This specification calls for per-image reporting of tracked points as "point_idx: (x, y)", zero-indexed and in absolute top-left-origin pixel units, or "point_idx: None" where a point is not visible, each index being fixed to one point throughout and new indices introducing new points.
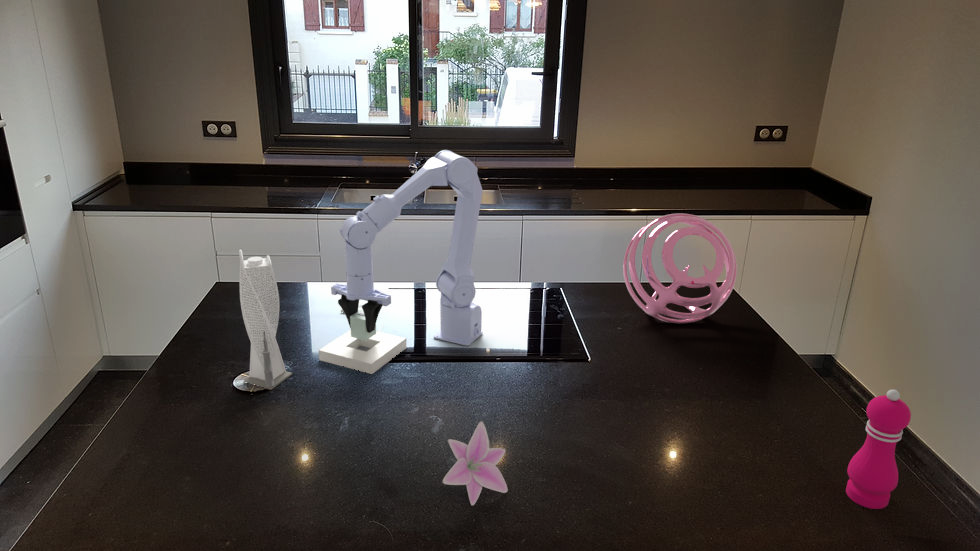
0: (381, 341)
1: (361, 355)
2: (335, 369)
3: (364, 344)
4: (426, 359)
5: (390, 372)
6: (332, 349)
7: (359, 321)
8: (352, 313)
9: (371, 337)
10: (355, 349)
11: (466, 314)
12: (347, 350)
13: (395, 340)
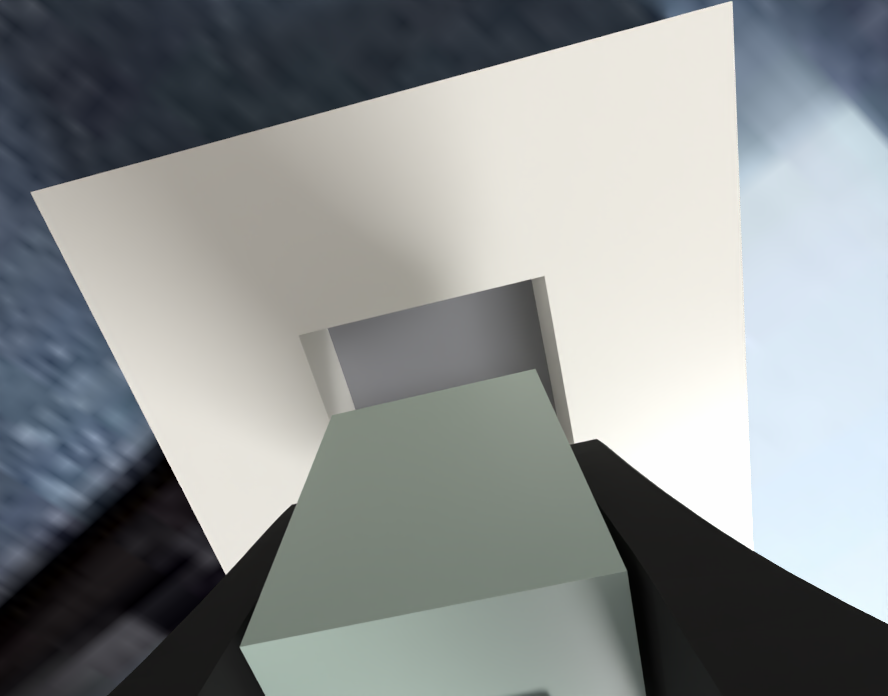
0: None
1: (264, 250)
2: (408, 11)
3: None
4: (71, 580)
5: (45, 309)
6: (606, 131)
7: (385, 567)
8: (662, 671)
9: None
10: (415, 296)
11: None
12: (457, 225)
13: None
